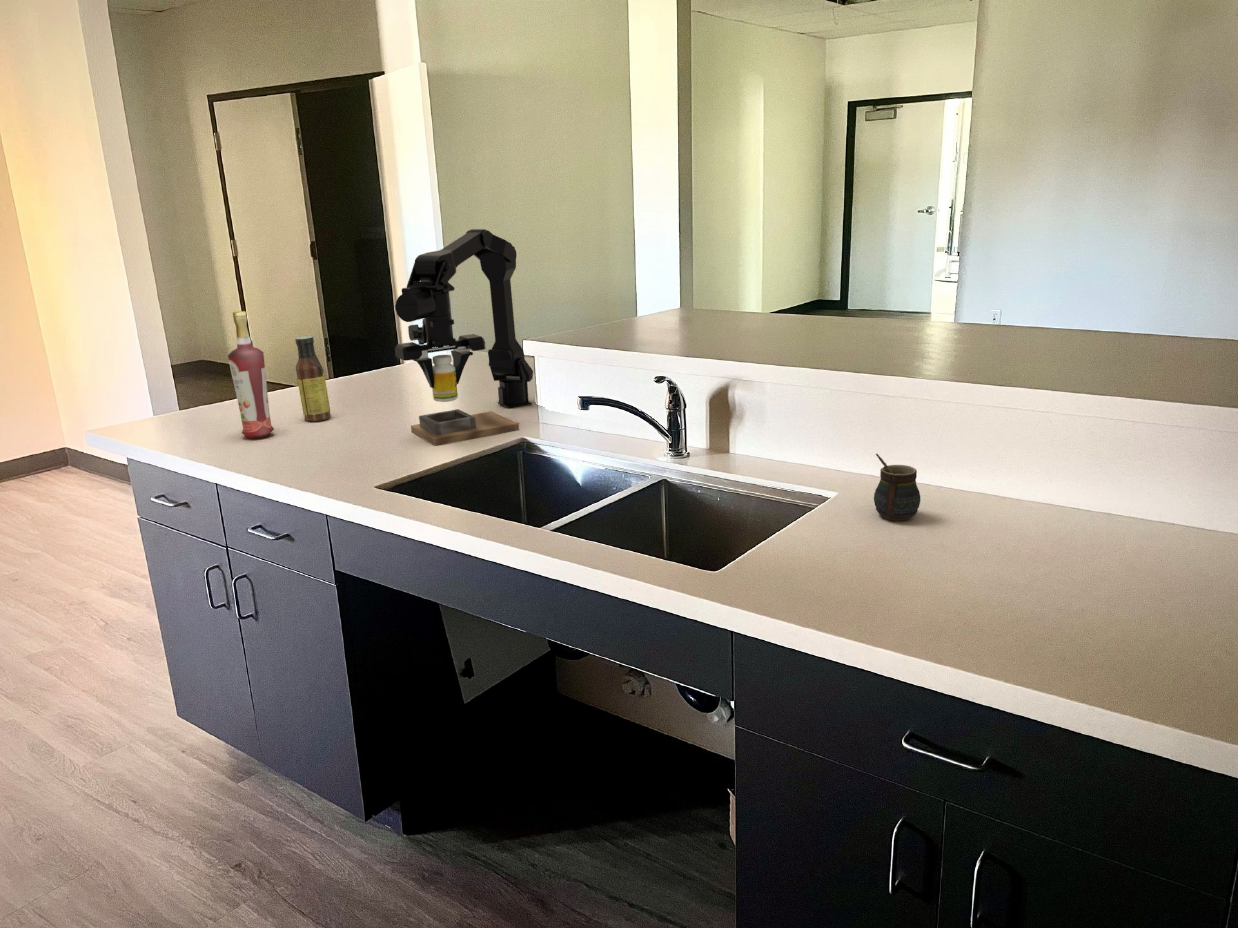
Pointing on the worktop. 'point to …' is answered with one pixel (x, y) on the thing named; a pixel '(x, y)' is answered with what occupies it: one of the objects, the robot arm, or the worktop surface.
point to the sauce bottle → (311, 382)
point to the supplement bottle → (444, 379)
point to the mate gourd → (897, 492)
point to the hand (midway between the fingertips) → (444, 385)
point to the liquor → (250, 382)
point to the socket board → (460, 426)
